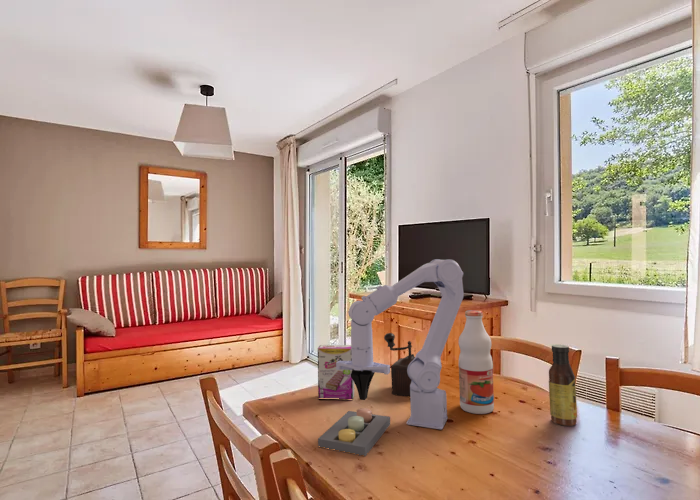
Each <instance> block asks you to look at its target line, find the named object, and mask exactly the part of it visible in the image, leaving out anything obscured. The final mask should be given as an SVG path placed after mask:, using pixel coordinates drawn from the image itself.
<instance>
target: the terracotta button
mask: <svg viewBox="0 0 700 500" xmlns="http://www.w3.org/2000/svg"><path fill="white" fill-rule="evenodd" d="M356 412H357V416H361V417H363V418H364V423H369V422H371V421H372V414H373V411H372V409H370V408H368V407H362V408H358V409H356Z"/></svg>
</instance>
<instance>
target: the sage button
mask: <svg viewBox="0 0 700 500" xmlns="http://www.w3.org/2000/svg"><path fill="white" fill-rule="evenodd" d="M348 429H352V430H354V431H355V432H360V433H362V431H363V430H364V418H363V417H361V416H352V417H349V418H348Z"/></svg>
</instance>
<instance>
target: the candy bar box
mask: <svg viewBox="0 0 700 500" xmlns="http://www.w3.org/2000/svg"><path fill="white" fill-rule="evenodd" d="M338 361H352V356H351V344H320V345H319V346H318V347H317V388H318V389H317V392H318V393H317V395H318V396H317V398H339V399H353V400H354V398H355V397H354V396H355V383H354V381H353V379H352V378H351V373H352V370H344V369H340V370H336V362H338Z"/></svg>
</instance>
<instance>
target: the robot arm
mask: <svg viewBox="0 0 700 500" xmlns="http://www.w3.org/2000/svg"><path fill="white" fill-rule="evenodd" d="M463 277H464V271H462V268H461V266H460V265H459V263H458V262H457V261H455V260H454V259H439V258H436V259H432V260H431V261H430V262H427V263H424V264H423V265H420V267H418V268H416V269H415V270H414V271H412V272H410V273H409V274H408V275H406V276H405V277H402V279H400V280H398V281H397V282H396V283H394V284H393V285H391V286H390V285H387V284H384V285H380V284H379V285H378V286H377V287H376V289H375V290H374V291H373V292H371V293H370V294H368V295H363V296H361V300H356V301H353V303H351V304H350V306H349V308H348V309H349V310H348V312H347V313H348V316H349V318H350V319H351V320H350V345H351V356H352V361H338V362H336V370H340V369H344V370H352V373H351V378H352V379H353V381H354V386H355V387H356V391H357V394H358V397H359V400H360V401H366V400H367V398H368V394H369V390H370V385H371V382H372V379H373V377H374V376H375V373H377V374H384V375H389V374H391V365H390V364H385V363H381V362H380V363H379V362H377V361H376V362H375V361H374V345H373V343H374V342H373V340H374V339H373V338H374V337H373V326H372V324H373V323H372V322H373V320H374V318H375V316H378V315H380V314H382V313H383V312H385V311H387V310H389V308H392V306H394V305H396V304H397V302H398V298H399V297H400V296H401V295H404V294H405V293H407V292H409V291H411V290H412V289H414V288H415V287H418V286H419V285H421V284H423V283H434V284H435V285H436V286H437V288H438V290H439V292H440V294H441V299H440V301H439V303H438V306H437V309H436V311H435V314H434V317H433V320H432V322H431V324H430V327H429V329H428V333H427V335H426V338H425V339H424V343H423V345H422V348H421V349H420V350H419V351H418V352H417V353H416V354H415V355H414V357H415V358H414V360H413V361H412V362H410V364H409V365H408V368H407V373H408V376H409V377H410V379H412V381H411V384H410V397H409V398H410V401H409V402H410V416H409V418H408V419H407V421H406V423H405V424H406V425H408V426H414V427H415V426H416V427H420V428H421V427H422V428H428V429H436V430H443V429H444V426H445V425H446V423H447V420H448V407H447V406H448V404H447V403H448V402H447V391H446V390H445V389H440V388H438V387H439V385H440V382H441V370H442V366H443V365H442V360H441V357H442V354H443V352H444V349H445V347H446V344H447V341H448V339H449V336H450V333H451V331H452V328H453V326H454V323H455V320H456V319H457V318H456V317H457V316H458V315H457V314H458V312H459V310H460V307H461V305H462V302H463V299H464V297H465V296H464V294H465V293H464V284H463Z"/></svg>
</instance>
